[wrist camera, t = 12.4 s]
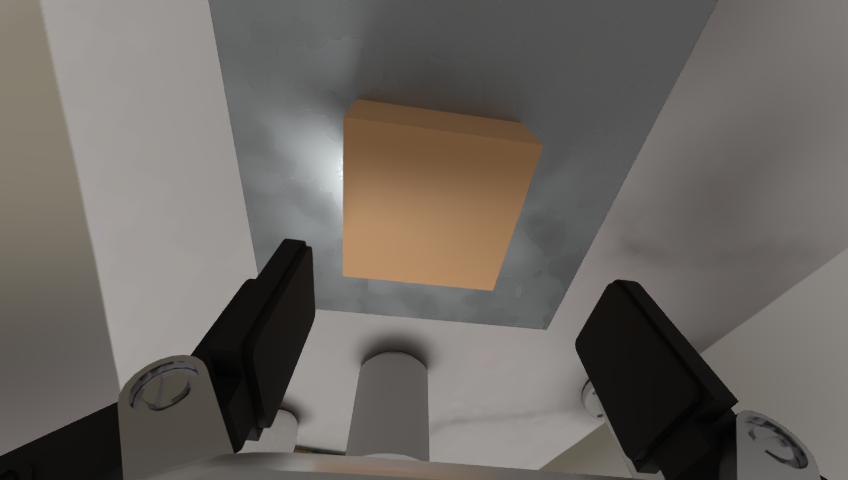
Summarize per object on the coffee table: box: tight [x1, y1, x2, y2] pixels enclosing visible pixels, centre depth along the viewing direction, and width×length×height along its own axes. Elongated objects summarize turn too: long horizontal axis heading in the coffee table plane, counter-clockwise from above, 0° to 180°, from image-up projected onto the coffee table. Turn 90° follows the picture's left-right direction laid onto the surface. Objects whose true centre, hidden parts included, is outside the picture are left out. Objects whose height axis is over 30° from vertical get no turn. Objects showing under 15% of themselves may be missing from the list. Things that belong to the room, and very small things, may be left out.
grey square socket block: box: [208, 0, 718, 330], centre depth 19 cm, size 18×18×8 cm
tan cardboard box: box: [343, 99, 543, 291], centre depth 17 cm, size 7×7×9 cm
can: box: [345, 352, 429, 462], centre depth 32 cm, size 8×8×12 cm
